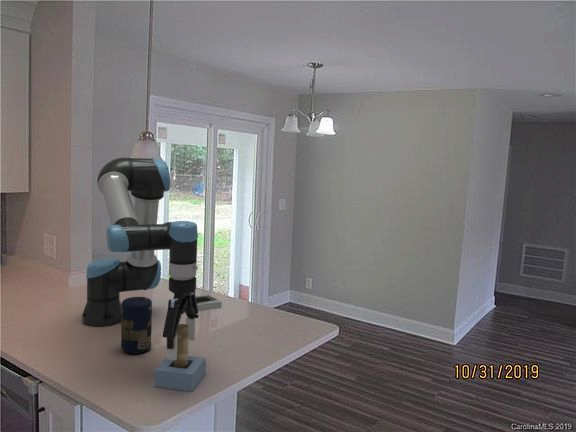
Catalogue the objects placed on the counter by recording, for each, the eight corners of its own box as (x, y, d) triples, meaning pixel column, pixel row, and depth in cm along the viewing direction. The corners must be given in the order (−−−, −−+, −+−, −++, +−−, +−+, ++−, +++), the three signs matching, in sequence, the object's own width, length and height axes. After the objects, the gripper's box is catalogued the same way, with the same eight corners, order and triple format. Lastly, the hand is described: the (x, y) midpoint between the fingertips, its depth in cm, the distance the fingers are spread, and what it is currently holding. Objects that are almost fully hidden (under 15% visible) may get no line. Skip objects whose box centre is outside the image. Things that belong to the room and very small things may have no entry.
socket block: (154, 386, 127) (154, 369, 126) (170, 369, 138) (170, 353, 137) (192, 391, 125) (192, 374, 125) (205, 373, 136) (205, 357, 135)
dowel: (171, 379, 130) (171, 328, 128) (177, 372, 134) (177, 323, 132) (184, 380, 129) (185, 329, 127) (190, 374, 133) (190, 324, 131)
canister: (125, 343, 155) (125, 292, 153) (154, 343, 156) (154, 292, 153) (117, 355, 145) (117, 301, 143) (147, 355, 146) (148, 301, 144)
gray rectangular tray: (182, 306, 186) (170, 293, 200) (182, 317, 187) (169, 303, 201) (221, 301, 196) (207, 288, 209) (220, 311, 196) (206, 298, 210)
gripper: (177, 290, 115) (176, 370, 118) (210, 267, 139) (208, 334, 142) (149, 287, 116) (148, 366, 119) (186, 265, 141) (185, 331, 143)
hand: (181, 349), depth 130 cm, fingers open, 13 cm apart
